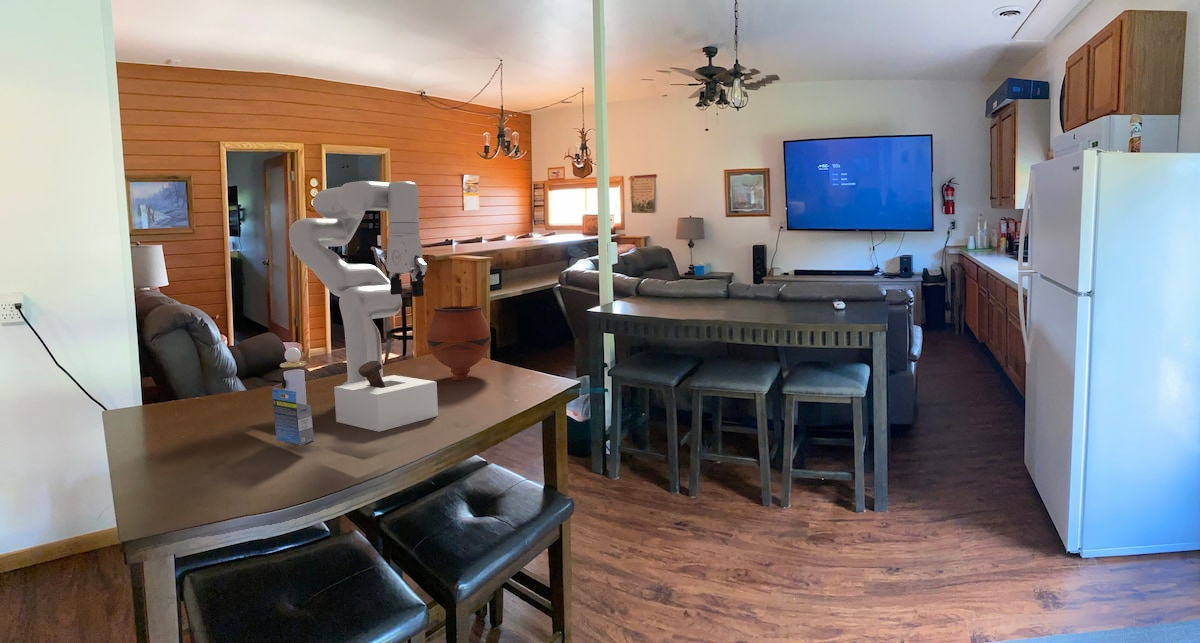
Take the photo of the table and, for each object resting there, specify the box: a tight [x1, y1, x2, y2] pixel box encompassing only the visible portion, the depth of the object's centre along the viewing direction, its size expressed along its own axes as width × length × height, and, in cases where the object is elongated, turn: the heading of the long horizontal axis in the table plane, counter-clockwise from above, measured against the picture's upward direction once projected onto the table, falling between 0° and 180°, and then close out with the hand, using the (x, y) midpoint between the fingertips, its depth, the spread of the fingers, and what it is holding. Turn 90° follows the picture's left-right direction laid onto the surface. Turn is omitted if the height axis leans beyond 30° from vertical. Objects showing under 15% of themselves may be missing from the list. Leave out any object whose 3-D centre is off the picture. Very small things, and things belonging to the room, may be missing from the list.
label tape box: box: [272, 387, 315, 445], centre depth 157 cm, size 9×4×12 cm, turn 59°
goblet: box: [426, 305, 492, 381], centre depth 213 cm, size 19×19×25 cm
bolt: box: [358, 361, 386, 388], centre depth 174 cm, size 6×5×15 cm
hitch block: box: [333, 374, 439, 433], centre depth 176 cm, size 17×18×9 cm
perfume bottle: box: [279, 346, 307, 404], centre depth 167 cm, size 6×6×20 cm
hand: (406, 295), depth 182 cm, fingers open, 9 cm apart
